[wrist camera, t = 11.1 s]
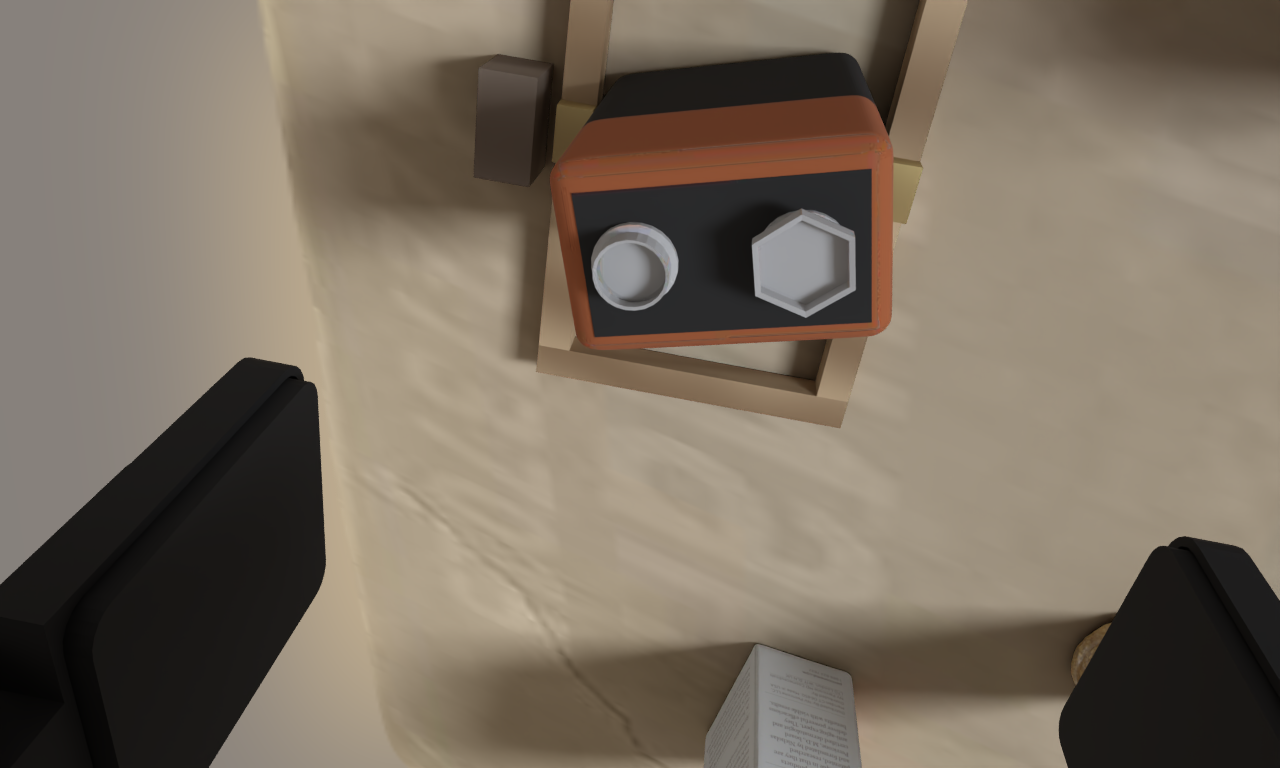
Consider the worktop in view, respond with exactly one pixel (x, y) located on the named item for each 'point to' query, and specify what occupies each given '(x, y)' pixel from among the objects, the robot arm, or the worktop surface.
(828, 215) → the battery
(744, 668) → the skincare box
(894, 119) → the track
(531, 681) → the worktop surface
